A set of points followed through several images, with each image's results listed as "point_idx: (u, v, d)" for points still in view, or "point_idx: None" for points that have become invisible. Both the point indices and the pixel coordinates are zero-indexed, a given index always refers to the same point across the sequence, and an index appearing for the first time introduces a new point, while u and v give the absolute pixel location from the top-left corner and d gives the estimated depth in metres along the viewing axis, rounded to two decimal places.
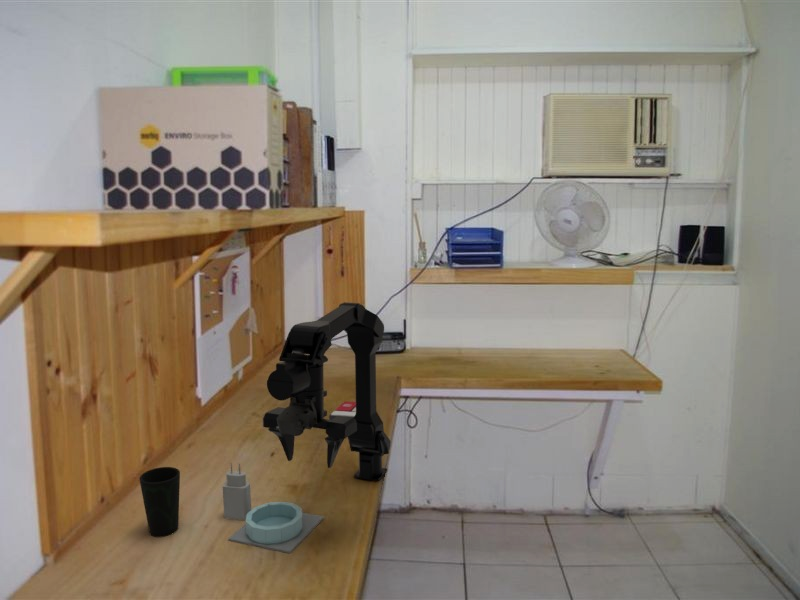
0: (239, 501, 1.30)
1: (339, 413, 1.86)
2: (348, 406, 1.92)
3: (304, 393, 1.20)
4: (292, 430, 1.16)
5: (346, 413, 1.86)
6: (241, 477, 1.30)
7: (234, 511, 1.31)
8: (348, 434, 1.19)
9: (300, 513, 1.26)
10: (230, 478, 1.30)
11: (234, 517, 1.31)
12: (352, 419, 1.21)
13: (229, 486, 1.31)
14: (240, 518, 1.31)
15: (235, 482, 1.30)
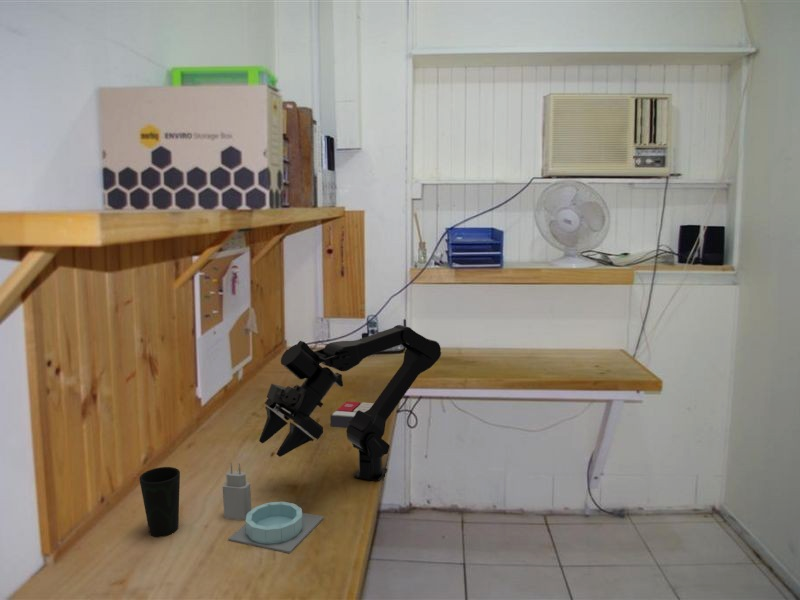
0: (239, 501, 1.30)
1: (340, 413, 1.85)
2: (350, 406, 1.92)
3: (304, 385, 1.38)
4: (273, 394, 1.33)
5: (347, 413, 1.85)
6: (241, 477, 1.30)
7: (234, 511, 1.31)
8: (307, 429, 1.29)
9: (300, 513, 1.26)
10: (230, 478, 1.30)
11: (234, 517, 1.31)
12: (320, 426, 1.31)
13: (229, 486, 1.31)
14: (240, 518, 1.31)
15: (235, 482, 1.30)
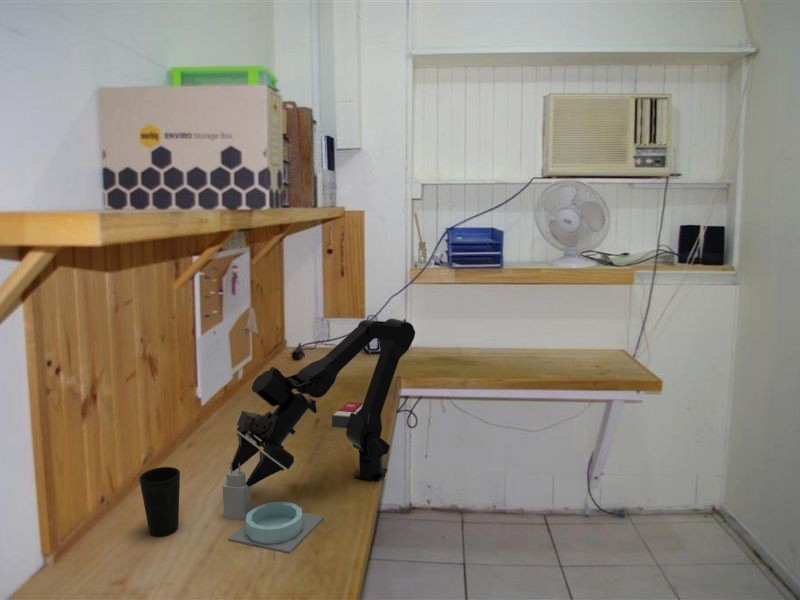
0: (239, 501, 1.30)
1: (342, 413, 1.85)
2: (351, 406, 1.92)
3: (276, 413, 1.34)
4: (243, 422, 1.30)
5: (349, 413, 1.85)
6: (241, 477, 1.30)
7: (234, 511, 1.31)
8: (277, 459, 1.26)
9: (300, 513, 1.26)
10: (230, 478, 1.30)
11: (234, 517, 1.31)
12: (291, 455, 1.28)
13: (229, 486, 1.31)
14: (240, 518, 1.31)
15: (235, 482, 1.30)
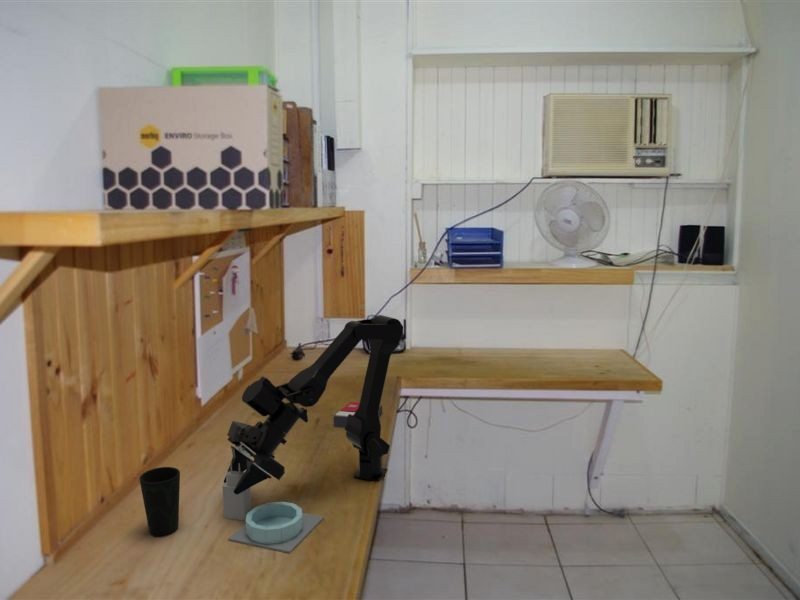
0: (239, 501, 1.30)
1: (344, 414, 1.85)
2: (353, 407, 1.92)
3: (267, 422, 1.33)
4: (233, 433, 1.29)
5: (351, 414, 1.85)
6: (241, 477, 1.30)
7: (234, 511, 1.31)
8: (267, 470, 1.25)
9: (300, 513, 1.26)
10: (230, 477, 1.30)
11: (234, 517, 1.31)
12: (281, 466, 1.27)
13: (229, 486, 1.31)
14: (240, 518, 1.31)
15: (235, 482, 1.30)
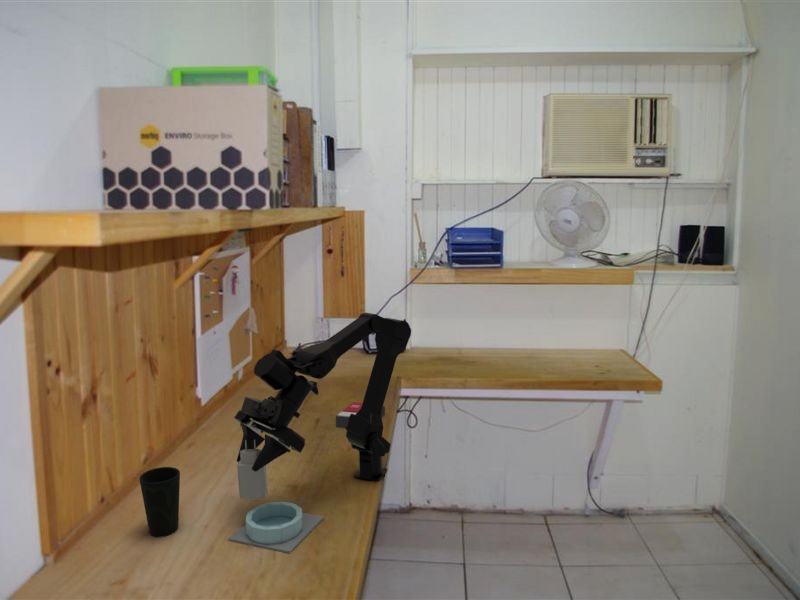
0: (256, 479, 1.26)
1: (346, 414, 1.85)
2: (356, 407, 1.91)
3: (280, 396, 1.30)
4: (249, 408, 1.24)
5: None
6: (258, 454, 1.26)
7: (251, 490, 1.26)
8: (290, 442, 1.22)
9: (300, 513, 1.26)
10: (246, 455, 1.26)
11: (251, 496, 1.27)
12: (302, 438, 1.25)
13: (245, 464, 1.26)
14: (257, 497, 1.27)
15: (251, 460, 1.26)
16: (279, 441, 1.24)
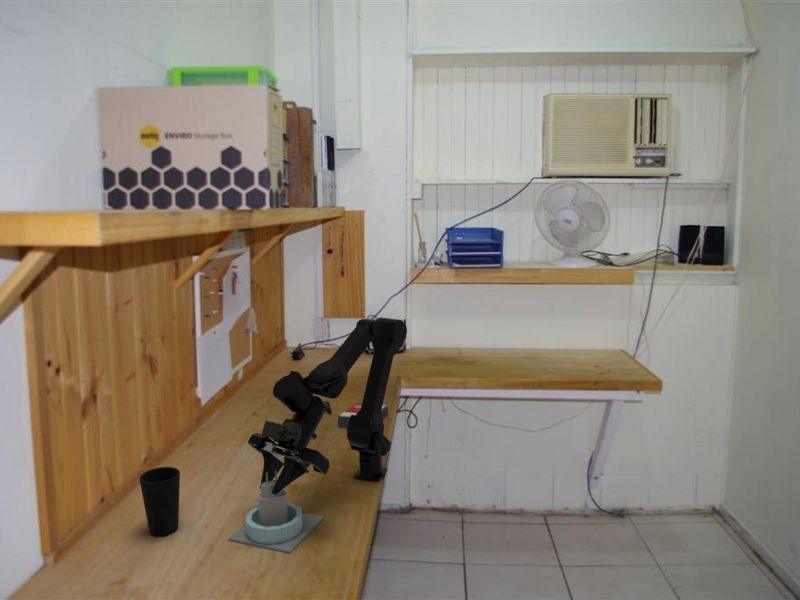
0: (281, 510, 1.24)
1: (348, 414, 1.84)
2: (358, 407, 1.91)
3: (298, 418, 1.28)
4: (273, 432, 1.22)
5: (355, 414, 1.84)
6: None
7: (275, 522, 1.24)
8: (317, 464, 1.21)
9: (300, 513, 1.26)
10: (270, 488, 1.23)
11: None
12: (327, 459, 1.24)
13: (269, 497, 1.23)
14: None
15: None
16: (300, 462, 1.23)
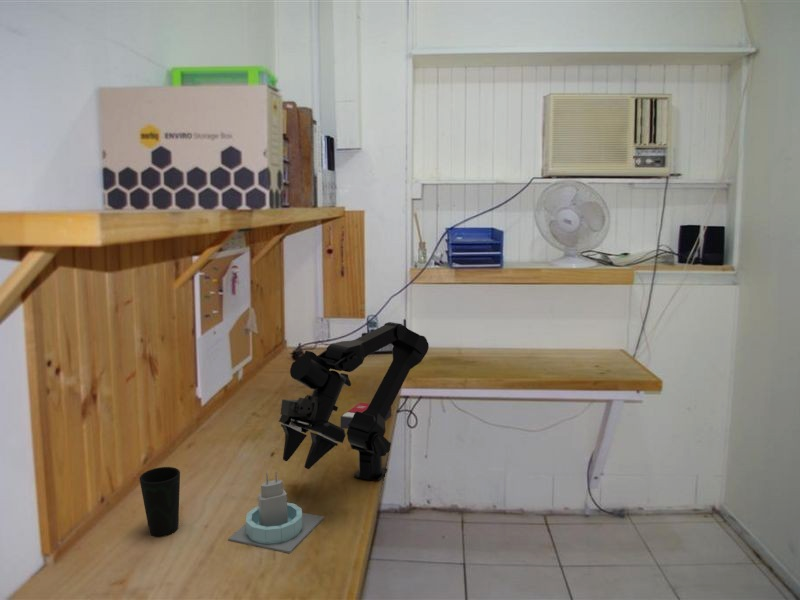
0: (281, 510, 1.24)
1: (350, 415, 1.84)
2: (362, 408, 1.91)
3: (315, 393, 1.35)
4: (287, 409, 1.30)
5: None
6: (281, 484, 1.24)
7: (275, 522, 1.24)
8: (329, 434, 1.27)
9: (300, 513, 1.26)
10: (270, 488, 1.23)
11: None
12: (341, 428, 1.29)
13: (269, 497, 1.23)
14: None
15: (275, 491, 1.24)
16: (324, 436, 1.28)
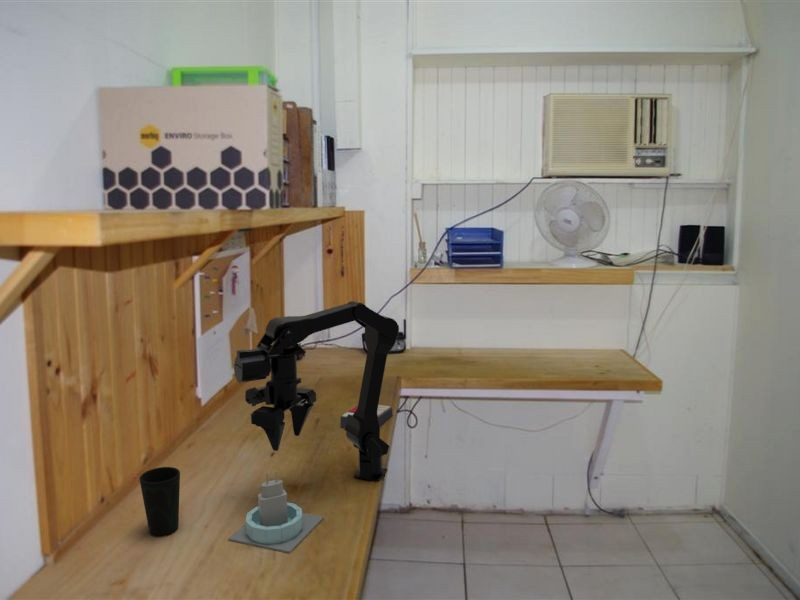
0: (281, 510, 1.24)
1: None
2: None
3: None
4: None
5: None
6: (281, 484, 1.24)
7: (275, 522, 1.24)
8: (257, 423, 1.29)
9: (300, 513, 1.26)
10: (270, 488, 1.23)
11: None
12: (268, 413, 1.28)
13: (269, 497, 1.23)
14: None
15: (275, 491, 1.24)
16: None
